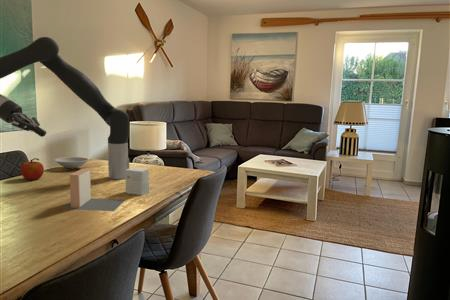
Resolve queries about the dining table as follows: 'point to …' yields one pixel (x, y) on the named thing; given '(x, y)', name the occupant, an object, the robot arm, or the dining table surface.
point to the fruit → (32, 170)
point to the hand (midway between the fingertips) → (44, 134)
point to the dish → (72, 161)
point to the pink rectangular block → (80, 188)
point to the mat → (99, 205)
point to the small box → (137, 181)
